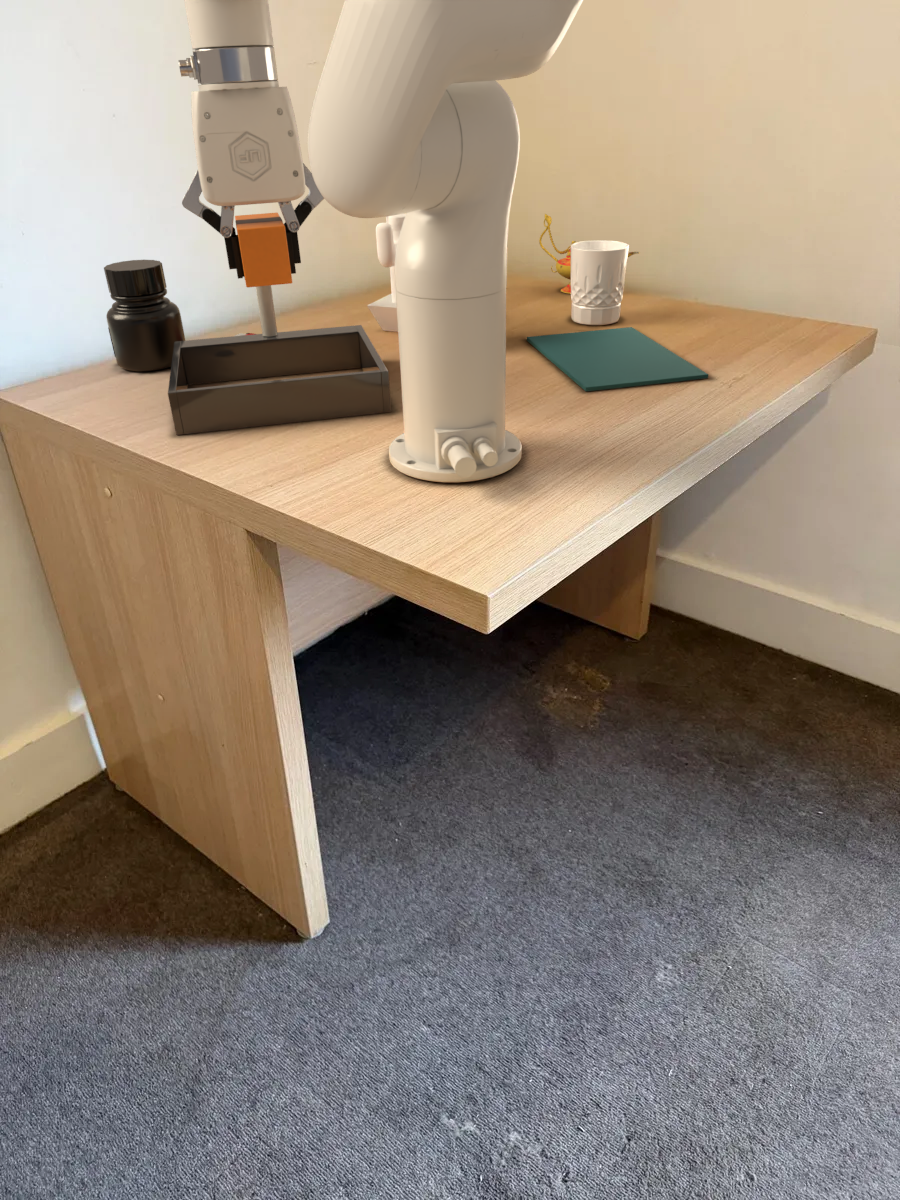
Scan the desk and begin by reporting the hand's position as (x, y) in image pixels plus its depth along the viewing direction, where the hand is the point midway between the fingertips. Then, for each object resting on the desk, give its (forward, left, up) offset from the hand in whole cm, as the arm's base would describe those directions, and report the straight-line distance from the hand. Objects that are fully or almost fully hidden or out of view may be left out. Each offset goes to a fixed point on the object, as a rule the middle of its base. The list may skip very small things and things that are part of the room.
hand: (266, 271), depth 91 cm
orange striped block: (0, 0, 0) cm, 0 cm away
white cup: (+20, -46, -14) cm, 52 cm away
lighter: (+22, +1, -14) cm, 26 cm away
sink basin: (+2, 0, -14) cm, 14 cm away
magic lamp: (+37, -51, -14) cm, 64 cm away
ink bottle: (+19, +15, -14) cm, 28 cm away
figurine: (+25, -19, -14) cm, 35 cm away
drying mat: (+2, -41, -14) cm, 43 cm away
